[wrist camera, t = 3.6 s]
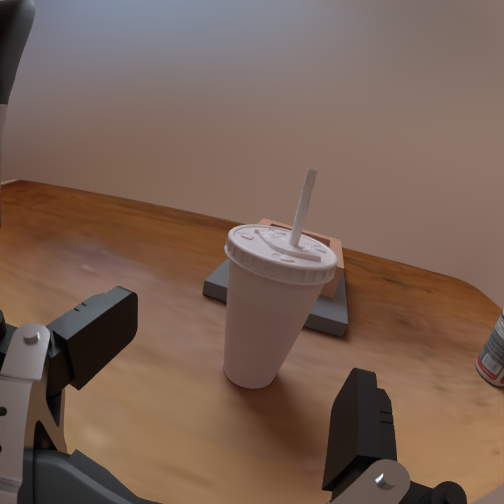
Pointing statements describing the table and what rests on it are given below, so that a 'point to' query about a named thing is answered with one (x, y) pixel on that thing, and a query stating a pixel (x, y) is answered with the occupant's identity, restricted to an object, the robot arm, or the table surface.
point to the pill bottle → (493, 356)
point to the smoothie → (271, 293)
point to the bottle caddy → (328, 303)
